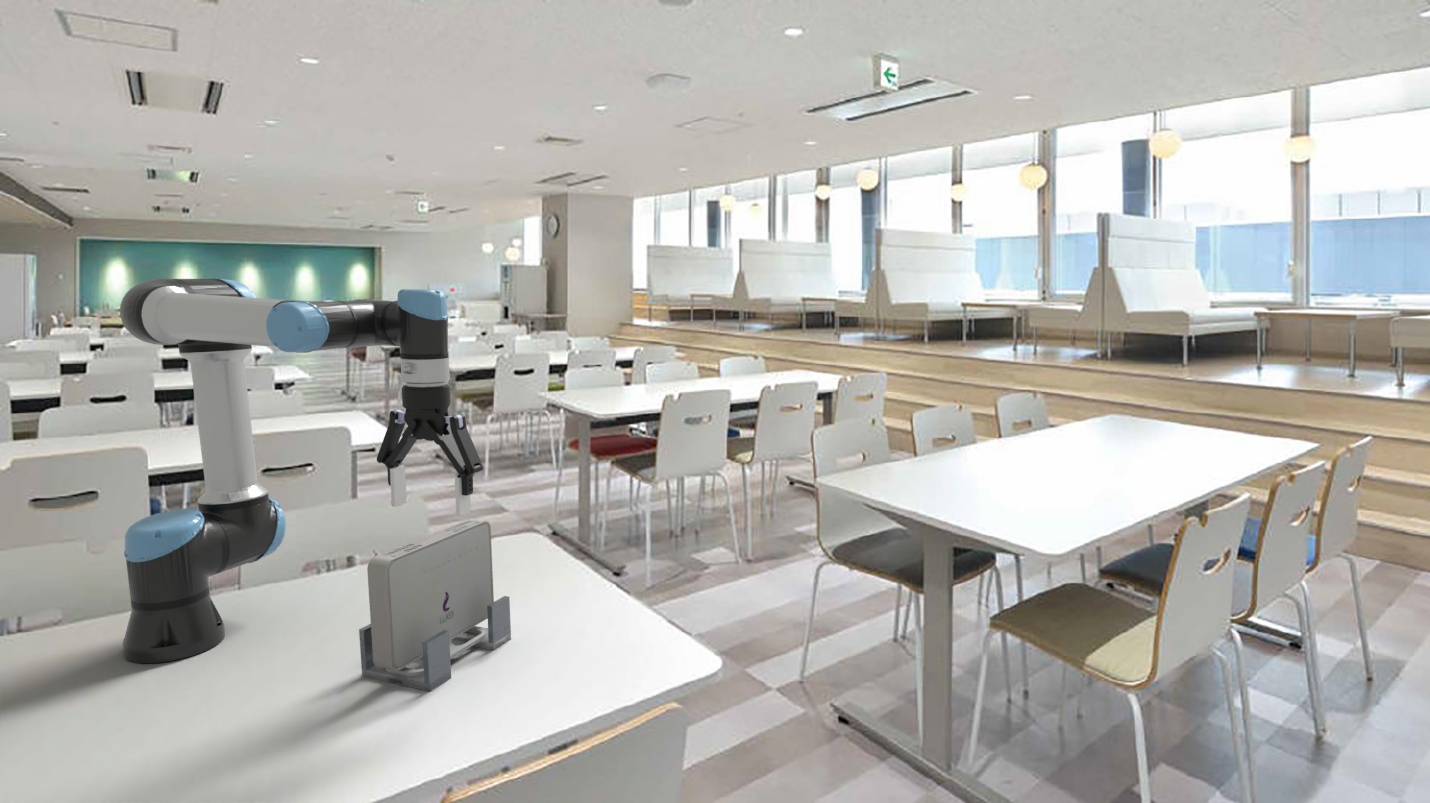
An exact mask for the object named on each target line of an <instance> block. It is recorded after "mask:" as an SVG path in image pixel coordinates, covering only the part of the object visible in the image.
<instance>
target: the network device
mask: <svg viewBox="0 0 1430 803" xmlns="http://www.w3.org/2000/svg"><path fill="white" fill-rule="evenodd" d="M491 530H492V529H491V524H490V522H489V521H485V520H478V519H470V518H469V519H465V520H462V521H460V522H458V523H456V524H453V525H451V526H447V527H445V528H442V529H440V530H438V531H436V532H433V533H431V534H427V535H425V536H423V537H421V538H418V539H415V540H413V541H412V540H411V541H410V542H408V543H405V544H403V545H401V546H397V547H395V548H393V549H391V550H388V551H387V550H386V551H385V552H383V553H380V554H377V555H375V556H373V557H372V558H371V559H370V560H369V562H368V565H367V568H366V569H367V582H368V583H367V585H368V598H369V599H368V600H369V601H368V602H369V616H370V624H371V635H372V650H373V663H374V665H375V666H377V667H381V668H385V669H386V670H387V671H389V672H392V673H397V674H401V675H406V676H418V675H423V674H424V668H423V669H410V668H406V666H407V665H409V664H411V663H412V662H415V661H416V660H418V659H420V658H422V657H423V647H422V642H424V641H425V640H427V639H429V638H431V637H433V636H434V635H436V634H438V633H440V632H441V631H443V630H447V631H449V641H450V660H452V659H453V658H455V657H457V656H459V655H460V654H461V653H463V652H465V651H466V650H468V649H470V648H471V647H474V646H473V645H475V644H476V643H478V642H480V641H481V640H483V639H484V638H485V637H486V636H487V631H486V630H485V629H484V628H485V627H483V628H481V627H482V626H478V627H476V626H477V625H479V624H481V623H482V622H484V621H486V620H488V614H487V606H488V605H489V604H491V603H493V602H495V600H494V577H493V576H494V574H493V555H492V554H493V552H492V550H493V549H492V531H491ZM465 631H468V632H473V633H478V634H480V635H478V636H476V637H475V638H473V639H471V640H470V641H468V642H466V643H465V644H463V645H458V646H455V645H454V644H453V643H452V639H453V638H455V637H457V636H459V635H460V634H462V633H464V632H465Z"/></svg>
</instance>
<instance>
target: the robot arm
mask: <svg viewBox="0 0 1430 803" xmlns="http://www.w3.org/2000/svg"><path fill="white" fill-rule="evenodd" d="M120 302H121V303H120V306H119V317H120V319H121V323H122V324H123V327H124V328H125V329H126V331H127V332H129V334H130V335H132V336H133V337H134V338H136V339H138V340H139V341H142V342H144V343H147V344H152V345H160V346H173V345H174V346H178V352H179V353H178V354H179V355H180V356H181V357H182V358H184V359H185V360H187V361H188V362H189V363H190V369H191V370H190V371H191V379H192V388H193V395H194V401H195V402H194V404H195V411H196V418H197V419H196V421H197V427H198V434H199V435H198V436H199V442H200V443H199V444H200V451H201V461H202V468H203V476H204V484H205V486H204V487H205V490H204V492H203V493H202V495H200V497H198V499H197V506H198V508H197V509H195V508H176V509H172V510H170V511H161V512H158V513H154V514H150V515H149V516H145V517H143V518H142V519H139V520H137V521H136V522H134V523H132V524H131V525H130V527H128V529H126V532H125V533H124V553H123V555H124V557H125V561H126V570H127V581H128V589H129V598H130V605H131V606H130V608H131V611H130V615H129V619H128V623H127V626H126V630H125V633H124V634H125V635H124V638H123V641H122V651H123V652H122V653H123V656H124V659H125V660H127V661H129V662H131V663H136V664H138V663H139V664H157V663H165V662H172V661H175V660H177V661H178V660H181V659H185V658H189V657H192V656H196V655H198V654H200V653H203V652H206V651H208V650H210V649H212V648H214V647H216V646H217V645H219V644H220V643H221V642H222V641H223V640H224V639H225V636H226V632H225V623H224V621H223V619H222V616H221V615H220V613H219V611H218V609H217V607H216V605H215V603H214V601H213V599H212V597H211V593H210V582H209V581H210V579H209V578H210V577H212V576H215V575H217V574H221V573H223V572H227V571H229V570H233V569H235V568H238V567H241V566H244V565H247V564H252V563H255V562H258V561H260V560H261V559H263V558H265V557H267V556H269V555H272V554H273V553H275V552H276V551H277V550H278V548H279V547H280V546H281V544H282V543H283V541H284V538H285V536H286V529H287V524H286V523H287V521H286V515H285V512H284V510H283V508H280V505H281V504H279V502H278V501H277V500H275V498H272V497H270V496H269V490H268V489H266V488H265V487H264V486H262V485H261V484H259V480H258V471H257V465H256V463H257V462H256V454H255V446H254V438H253V429H252V427H253V426H252V419H251V411H250V403H249V402H250V401H249V394H248V385H247V384H248V383H247V376H246V375H247V374H246V366H245V358H247V356H248V355H249V354H250V353H251V352H252V350H253V346H261V347H262V346H263V347H271V348H272V347H274V348H277V349H278V350H280V351H282V352H285V353H296V354H297V353H300V354H301V353H302V354H304V353H311V352H315V351H317V352H318V351H326V350H334V349H335V350H336V349H351V348H352V349H353V348H360V347H361V348H362V347H374V346H376V347H377V346H378V347H379V346H380V347H382V346H383V347H399V355H400V356H399V357H400V374H401V381H402V382H401V383H404V385H402V387H401V404H402V407H403V408H400V409H395V410H391V411H389V420H388V422H389V424H388V426H387V429H386V431H385V435H384V436H383V440H382V443H381V446H380V447H379V451H378V453H377V457H376V461H377V463H378V464H383V465H385V467H386V470H387V484H388V486H390V498H391V502H390V503H391V507H398V506H402V505H404V504H407V500H408V499H407V487H406V486H407V481H406V465H403V464H404V462H403V461H404V460H405V458H406V456H407V455H408V454H409V452H410V451H411V449H412V448H413V446H414V445H415V444H416V442H417V441H418V440H419V441H420V440H425V441H429V442H432V441H433V443H435V444H436V445H437V446H439V447H440V448H441V450H442V452H443V453H444V455H446V457H447V459H448V460H449V462H450V463H451V465H452V466H453V468H454V469H455V471H456V473H457V475H456V476H455V477H454V485H455V487H454V489H455V490H454V491H455V495H454V496H455V516H456V517H462V516H464V515H466V514H467V515H468V513H471V495H472V494H473V493H474V474H477V473H480V472H482V471H483V470H484V465H483V463H482V460H481V458H480V456H479V454H478V451H477V448H476V446H475V445H474V442H473V440H472V437H471V435H470V432H469V430H468V428H467V421H466V416H465V415H464V414H462V413H460V414H457V415H450V413H449V407H450V405H451V386H450V385H449V383H448V382H449V381H450V380H451V378H450V377H451V376H450V358H449V345H448V344H449V314H448V313H449V312H448V305H447V297H446V294H445V292H444V291H442V290H440V289H432V288H431V289H430V288H429V289H423V288H422V289H421V288H418V289H417V288H409V289H408V288H403V289H399V291H398V292H397V300H378V299H377V300H376V299H367V298H366V299H365V298H364V299H353V300H352V299H351V300H335V301H333V300H331V301H323V300H322V301H319V300H318V301H315V300H313V301H311V300H310V301H309V300H293V299H292V300H290V299H276V298H275V299H273V298H262V297H261V298H260V297H257V296H256V294H255V293H254V292H253V291H252V290H250V288H249V286H247V284H244V283H243V282H240V281H237V280H233V279H225V278H224V279H223V278H215V277H213V278H153V279H148V280H144V281H142V282H139V283H137V284H136V285H134V286H133V287H131V288H130V289H129V290H128V291H127V292H125V294H124V296H123V297H122V300H121V301H120ZM405 424H406V426H407V427H406V429H405V430H404V428H405Z"/></svg>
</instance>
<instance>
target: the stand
mask: <svg viewBox="0 0 1430 803" xmlns="http://www.w3.org/2000/svg"><path fill="white" fill-rule="evenodd" d="M487 614H488V619H487V627H482V626H480V627H481V628H484V629H485V630H486V631H487V636H486V637H485V638H484V639H483V640H481V641H480V642H478V643H476V644H475V645H473V646H472V647H475V648H480V649H485V650H486V649H487V650H491V651H496V649H498V648H500V647H502V646H503V645H504V644H505V643H507V642H509V641H510V640H512V633H511V632H512V630H511V629H512V628H511V602H510V596H507V595H504V596H502V597H500V598H499V599H497V600H494V602H493V603H491V604H489V605H488V606H487ZM476 627H479V626H477V625H476ZM478 635H480V634H478V633H473V632H468V631H465V632H464V633H462V634H460V635H459V636H457V637H455V638H453V639H452V643H453V644H454V645H455V646H458V645H463V644H465V643H466V642H468V641H470V640H471V639H473V638H475V637H476V636H478ZM358 636H359V637H358V638H359V647H360V649H359V650H360V664H361V677H365V678H370V679H374V680H378V681H382V682H387V683H390V684H391V683H392V684H396V685H400V686H403V687H404V686H405V687H409V688H413V689H417V690H421V691H427V692H431V691H433V690H434V689H437V688H438V687H439V686H441V685H442V684H444V683H446V681H448V680H450V679H452V666H451V665H452V664H451V663H452V662H451V659H450V641H449V631H447V630H443V631H441V632H440V633H438V634H436V635H434V636H433V637H431V638H429V639H427V640H425V641H424V642H422V647H423V657H421V658H419V659H418V660H416V661H414V662H412V663H411V664H409V665H407V666H406V668H410V669H423V668H424V674H423V675H418V676H406V675H401V674H397V673H392V672H389V671H387V670H386V669H385V668H381V667H377V666H375V665H374V663H373V650H372V635H371V623H369V624H367V625H366V626H363V627H361V628H359V629H358Z"/></svg>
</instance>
